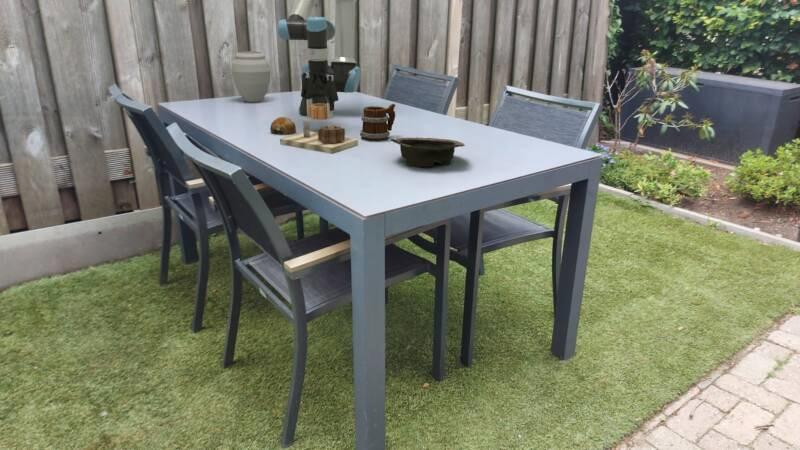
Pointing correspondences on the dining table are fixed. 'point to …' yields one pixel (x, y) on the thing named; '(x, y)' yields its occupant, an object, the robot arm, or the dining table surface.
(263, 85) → the vase
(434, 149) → the stone bowl
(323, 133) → the peg board
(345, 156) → the dining table surface
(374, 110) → the mug
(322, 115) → the gear
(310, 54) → the robot arm
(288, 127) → the bread roll
